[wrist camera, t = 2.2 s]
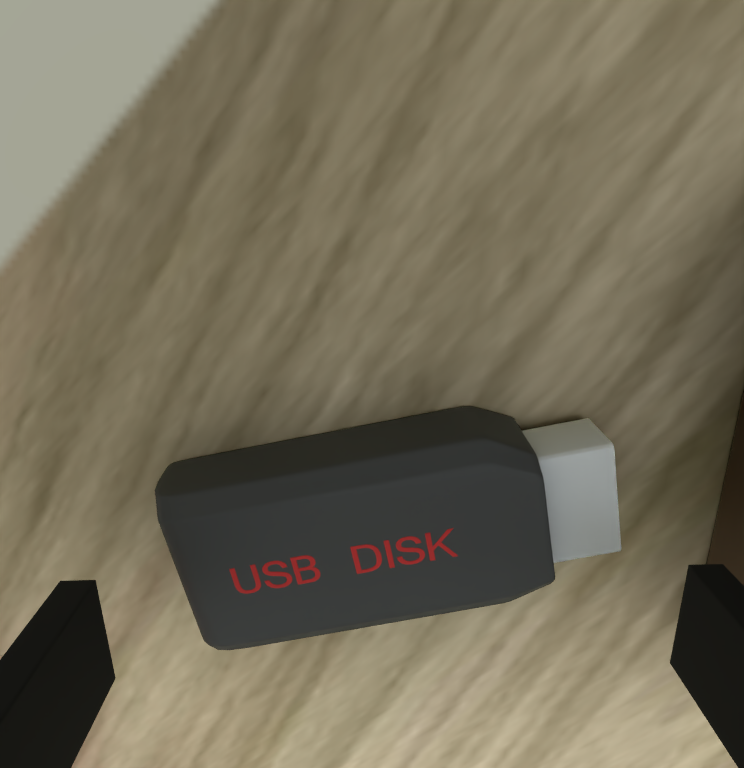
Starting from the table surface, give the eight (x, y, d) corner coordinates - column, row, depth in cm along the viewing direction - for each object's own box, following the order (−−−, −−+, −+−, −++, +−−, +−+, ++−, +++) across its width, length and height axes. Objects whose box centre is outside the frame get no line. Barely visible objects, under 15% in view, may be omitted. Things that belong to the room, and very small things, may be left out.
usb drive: (168, 463, 17) (133, 515, 14) (582, 382, 16) (624, 422, 14) (219, 605, 18) (196, 675, 16) (595, 539, 18) (635, 600, 15)
